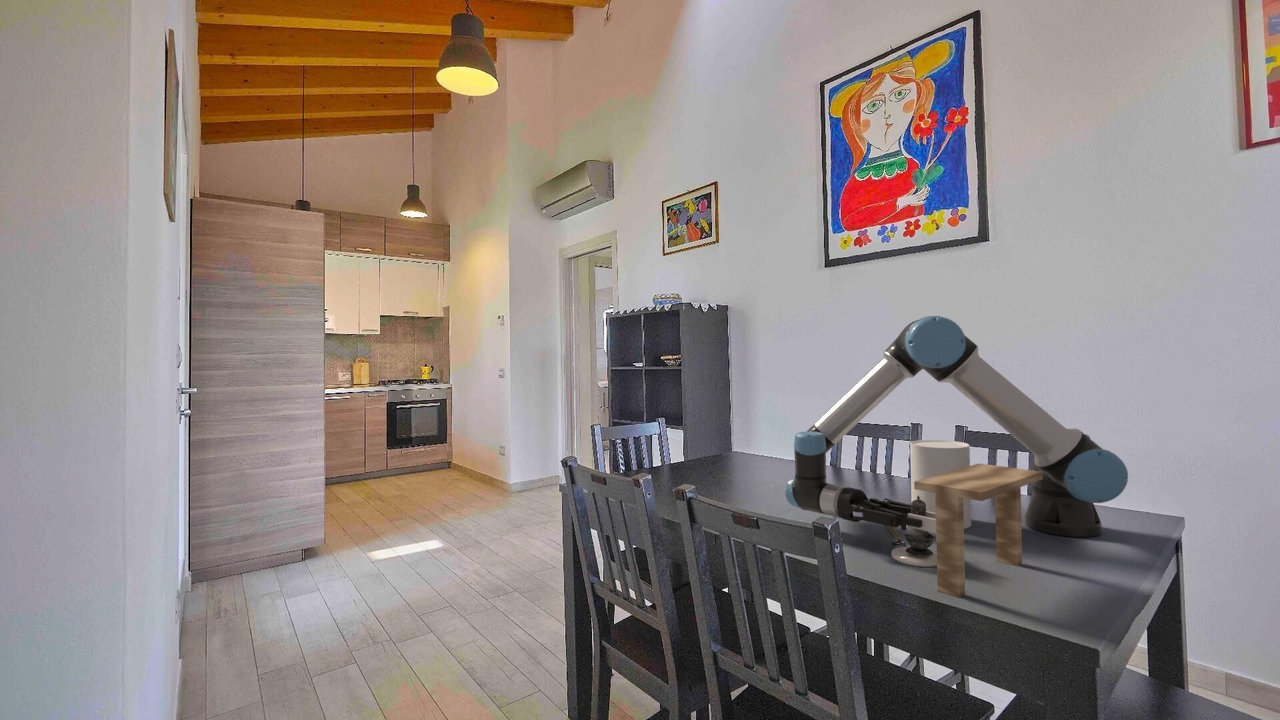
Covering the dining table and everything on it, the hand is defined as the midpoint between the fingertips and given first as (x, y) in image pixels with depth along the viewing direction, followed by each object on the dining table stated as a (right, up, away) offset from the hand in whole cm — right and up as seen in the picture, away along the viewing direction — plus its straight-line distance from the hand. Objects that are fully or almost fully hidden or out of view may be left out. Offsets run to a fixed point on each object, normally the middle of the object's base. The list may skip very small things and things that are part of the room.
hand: (944, 524), depth 120 cm
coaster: (-3, -9, +5) cm, 10 cm away
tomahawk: (+1, -9, +23) cm, 25 cm away
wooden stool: (+4, -8, -6) cm, 11 cm away
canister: (+15, -8, +31) cm, 35 cm away
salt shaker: (-3, -7, +4) cm, 9 cm away
